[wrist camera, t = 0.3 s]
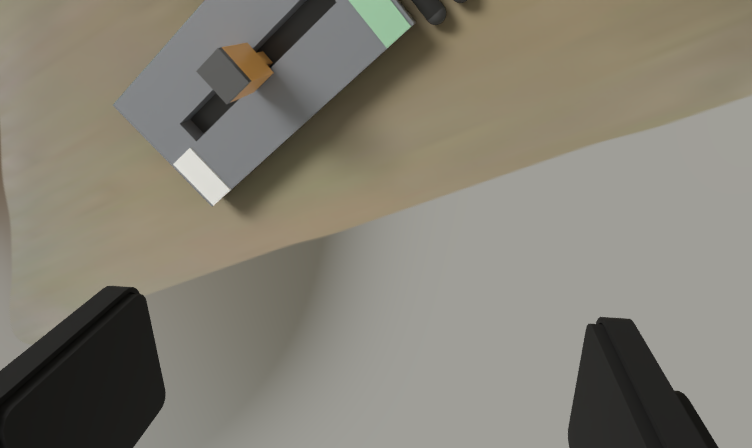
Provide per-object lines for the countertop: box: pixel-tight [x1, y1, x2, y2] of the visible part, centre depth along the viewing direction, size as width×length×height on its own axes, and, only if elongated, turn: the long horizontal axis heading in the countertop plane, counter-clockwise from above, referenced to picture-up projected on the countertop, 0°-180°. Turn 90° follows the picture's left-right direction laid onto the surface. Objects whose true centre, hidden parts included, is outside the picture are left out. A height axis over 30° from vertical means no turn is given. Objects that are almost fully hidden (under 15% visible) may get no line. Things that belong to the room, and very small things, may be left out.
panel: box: [113, 0, 416, 206], centre depth 42 cm, size 12×24×3 cm, turn 131°
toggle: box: [196, 43, 274, 104], centre depth 39 cm, size 3×2×8 cm
